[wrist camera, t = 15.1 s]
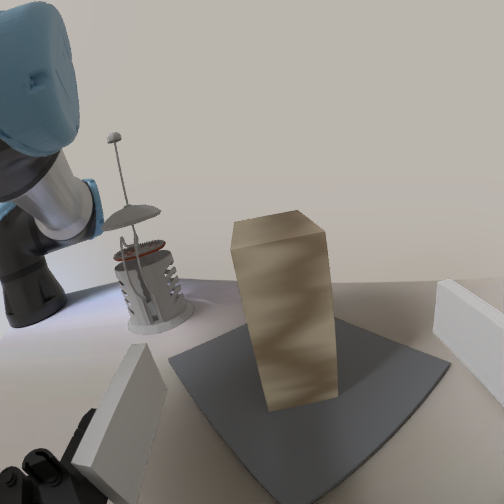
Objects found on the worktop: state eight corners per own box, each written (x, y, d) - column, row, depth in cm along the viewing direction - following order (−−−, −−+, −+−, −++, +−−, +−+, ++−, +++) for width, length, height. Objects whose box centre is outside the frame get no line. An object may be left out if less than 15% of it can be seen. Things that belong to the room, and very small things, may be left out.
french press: (192, 294, 44) (153, 129, 37) (198, 330, 33) (144, 109, 26) (132, 309, 42) (89, 148, 35) (120, 348, 31) (59, 137, 24)
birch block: (268, 411, 18) (230, 249, 15) (261, 348, 26) (234, 221, 23) (338, 396, 18) (325, 231, 15) (314, 337, 26) (296, 209, 23)
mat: (169, 362, 27) (167, 358, 27) (294, 304, 35) (294, 300, 34) (292, 516, 10) (291, 513, 10) (448, 367, 18) (450, 362, 18)
